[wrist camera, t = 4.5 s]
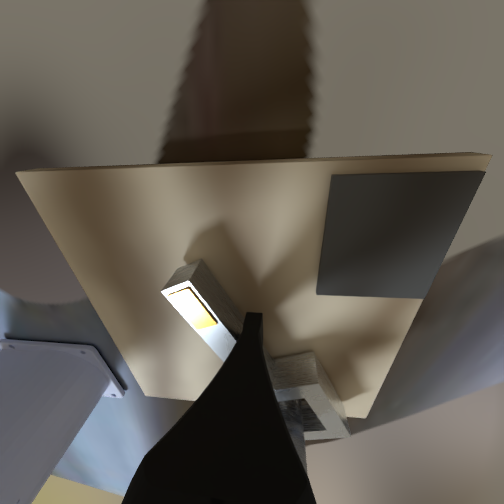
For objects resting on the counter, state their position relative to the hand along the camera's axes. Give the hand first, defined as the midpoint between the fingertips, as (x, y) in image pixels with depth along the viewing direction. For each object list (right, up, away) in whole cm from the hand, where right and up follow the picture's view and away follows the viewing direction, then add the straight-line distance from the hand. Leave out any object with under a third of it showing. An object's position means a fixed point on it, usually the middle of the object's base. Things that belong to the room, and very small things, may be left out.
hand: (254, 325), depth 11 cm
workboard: (-1, -1, +3) cm, 3 cm away
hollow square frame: (0, -3, +3) cm, 4 cm away
